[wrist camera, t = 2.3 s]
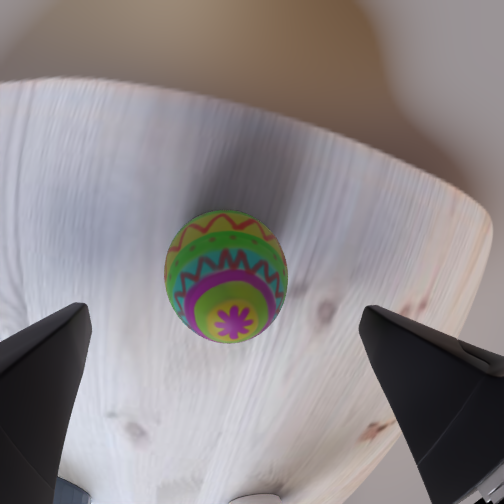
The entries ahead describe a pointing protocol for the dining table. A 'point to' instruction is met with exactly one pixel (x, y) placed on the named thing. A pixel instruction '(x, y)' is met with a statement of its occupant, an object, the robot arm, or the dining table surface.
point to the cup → (69, 493)
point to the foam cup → (258, 499)
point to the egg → (226, 276)
